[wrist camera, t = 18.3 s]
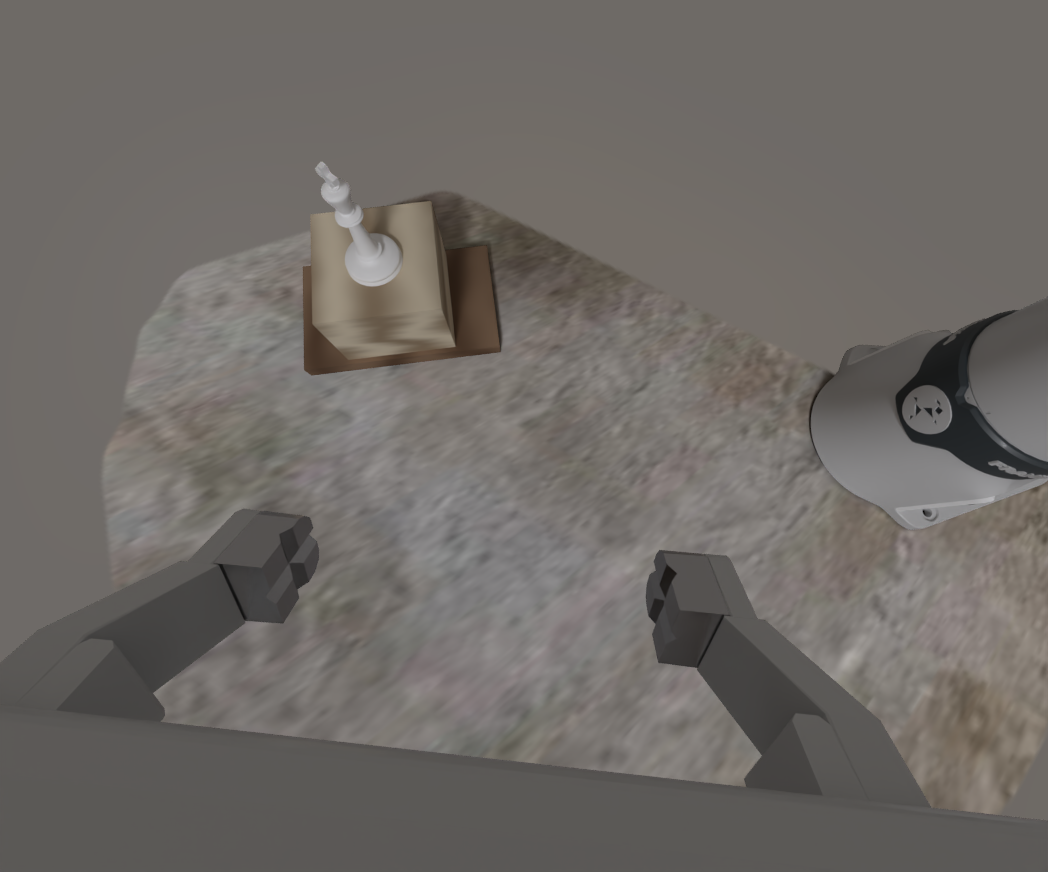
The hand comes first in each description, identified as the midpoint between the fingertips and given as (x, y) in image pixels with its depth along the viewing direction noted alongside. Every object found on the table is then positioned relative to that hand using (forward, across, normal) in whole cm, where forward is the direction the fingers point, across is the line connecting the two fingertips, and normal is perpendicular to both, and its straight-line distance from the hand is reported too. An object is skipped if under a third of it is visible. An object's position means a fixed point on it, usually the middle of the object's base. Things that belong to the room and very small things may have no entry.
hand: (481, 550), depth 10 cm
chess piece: (+32, +14, 0) cm, 35 cm away
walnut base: (+38, +14, +6) cm, 41 cm away
